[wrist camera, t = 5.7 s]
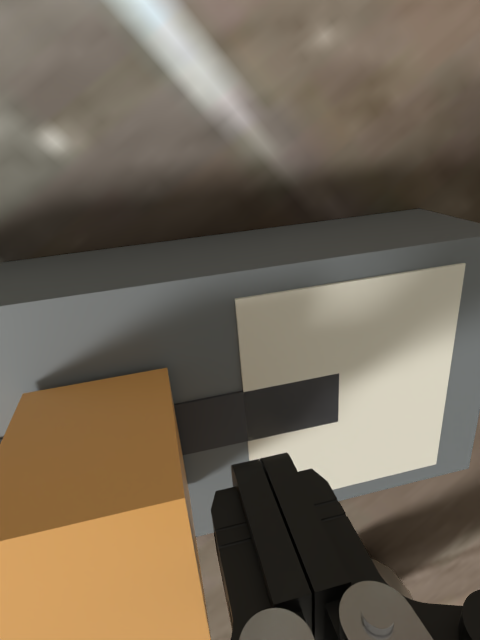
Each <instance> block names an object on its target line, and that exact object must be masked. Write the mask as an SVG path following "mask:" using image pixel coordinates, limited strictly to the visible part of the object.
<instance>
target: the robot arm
mask: <svg viewBox="0 0 480 640" xmlns="http://www.w3.org/2000/svg"><path fill="white" fill-rule="evenodd" d="M231 473H232V482H233V487H231V488H227V489H222V490H218V491H216V492H215V495H214V499H213V503H212V507H211V515H212V522H213V529H214V536H215V543H216V550H217V556H218V561H219V566H220V571H221V576H222V581H223V586H224V591H225V596H226V601H227V606H228V611H229V616H230V621H231V626H232V637H231V640H480V590H477V591H475V592H473V593H471V594H470V595H469V596H468V597H467V598H466V600H465V602H464V604H463V606H454V605H441V604H428V603H421V602H417V601H414V600H411V599H409V598H407V597H405V596H403V595H401V594H400V593H399V592H398V591H396V590H395V589H393V588H392V587H390V586H389V585H388V584H387V583H386V582H385V580H384V579H383V578H382V577H381V575H380V574H379V572H378V570H377V569H376V567H375V565H374V563H373V561H372V560H371V558H370V556H369V554H368V553H367V551H366V549H365V547H364V545H363V544H362V542H361V540H360V538H359V536H358V535H357V533H356V531H355V529H354V528H353V526H352V524H351V522H350V520H349V519H348V517H346V514H345V512H344V510H343V508H342V506H341V504H340V503H339V502H338V500H337V497H336V495H335V494H334V492H333V490H332V488H331V487H330V485H329V483H328V481H326V480H325V479H324V478H323V477H322V476H320V475H319V474H318V473H317V472H315V471H314V470H313V469H312V468H311V469H307V470H303V471H299V472H298V471H297V469H296V467H295V465H294V463H293V461H292V459H291V457H290V455H289V454H288V453H287V452H286V453H282V454H277V455H273V456H269V457H264V458H260V460H259V459H256V460H251V461H247V462H243V463H238V464H234V465H231Z"/></svg>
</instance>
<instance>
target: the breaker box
mask: <svg viewBox="0 0 480 640" xmlns="http://www.w3.org/2000/svg"><path fill="white" fill-rule="evenodd" d="M162 368H167V369H168V375H169V380H170V386H171V392H172V398H173V403H174V409H175V415H176V421H177V426H178V432H179V438H180V444H181V449H182V455H183V461H184V467H185V472H186V478H187V484H188V490H189V496H190V503H191V509H192V516H193V523H194V529H195V536H196V537H198V536H202V535H206V534H210V533H214V529H213V522H212V515H211V507H212V503H213V499H214V495H215V492H216V491H218V490H222V489H227V488H231V487H233V482H232V473H231V465H234V464H238V463H243V462H247V461H251V460H256V459H259V460H260V458H264V457H269V456H273V455H277V454H282V453H286V452H287V453H288V454H289V455H290V457H291V459H292V461H293V463H294V465H295V467H296V469H297V471H298V472H299V471H303V470H307V469H311V468H312V469H313V470H314V471H315V472H317V473H318V474H319V475H320V476H322V477H323V478H324V479H325V480H326V481H328V483H329V485H330V487H331V488H332V490H333V492H334V494H335V495H336V497H337V500H338V501H341V500H345V499H349V498H353V497H357V496H361V495H365V494H368V493H372V492H376V491H380V490H384V489H388V488H392V487H396V486H400V485H404V484H408V483H412V482H416V481H420V480H424V479H428V478H432V477H436V476H440V475H444V474H448V473H452V472H456V471H460V470H464V469H468V468H469V464H470V458H471V453H472V448H473V443H474V437H475V432H476V427H477V422H478V416H479V411H480V223H477V222H473V221H469V220H465V219H460V218H456V217H452V216H448V215H444V214H440V213H436V212H432V211H428V210H424V209H412V210H405V211H397V212H389V213H381V214H374V215H366V216H358V217H350V218H343V219H335V220H327V221H319V222H312V223H304V224H296V225H288V226H281V227H273V228H265V229H257V230H250V231H242V232H234V233H226V234H219V235H211V236H203V237H195V238H188V239H180V240H172V241H164V242H157V243H149V244H141V245H133V246H126V247H118V248H110V249H102V250H95V251H87V252H79V253H71V254H64V255H56V256H48V257H40V258H33V259H25V260H17V261H9V262H2V263H0V444H1V441H2V439H3V437H4V435H5V432H6V430H7V428H8V426H9V423H10V421H11V419H12V417H13V414H14V412H15V410H16V408H17V405H18V403H19V401H20V399H21V397H22V394H23V393H29V392H34V391H40V390H45V389H51V388H57V387H62V386H68V385H73V384H79V383H84V382H90V381H95V380H101V379H106V378H112V377H118V376H123V375H129V374H134V373H140V372H145V371H151V370H156V369H162Z"/></svg>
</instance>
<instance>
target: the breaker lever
mask: <svg viewBox="0 0 480 640" xmlns="http://www.w3.org/2000/svg"><path fill="white" fill-rule="evenodd" d="M0 640H211V637H210V630H209V623H208V617H207V610H206V603H205V597H204V590H203V583H202V576H201V570H200V563H199V556H198V550H197V543H196V536H195V529H194V523H193V516H192V509H191V503H190V496H189V490H188V484H187V478H186V472H185V467H184V461H183V455H182V449H181V444H180V438H179V432H178V426H177V421H176V415H175V409H174V403H173V398H172V392H171V386H170V380H169V375H168V369H167V368H162V369H156V370H151V371H145V372H140V373H134V374H129V375H123V376H118V377H112V378H106V379H101V380H95V381H90V382H84V383H79V384H73V385H68V386H62V387H57V388H51V389H45V390H40V391H34V392H29V393H23V394H22V397H21V399H20V401H19V403H18V405H17V408H16V410H15V412H14V414H13V417H12V419H11V421H10V423H9V426H8V428H7V430H6V432H5V435H4V437H3V439H2V441H1V444H0Z"/></svg>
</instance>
